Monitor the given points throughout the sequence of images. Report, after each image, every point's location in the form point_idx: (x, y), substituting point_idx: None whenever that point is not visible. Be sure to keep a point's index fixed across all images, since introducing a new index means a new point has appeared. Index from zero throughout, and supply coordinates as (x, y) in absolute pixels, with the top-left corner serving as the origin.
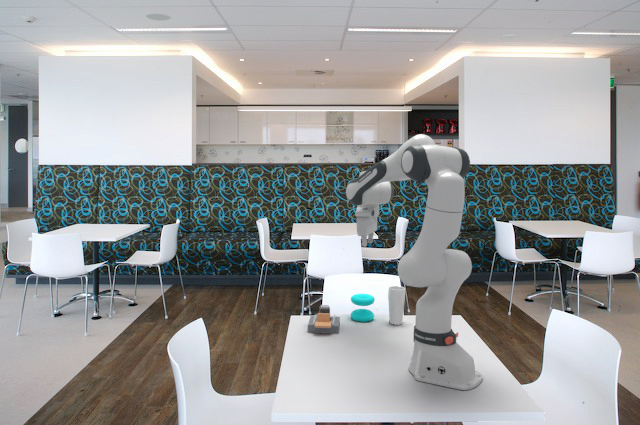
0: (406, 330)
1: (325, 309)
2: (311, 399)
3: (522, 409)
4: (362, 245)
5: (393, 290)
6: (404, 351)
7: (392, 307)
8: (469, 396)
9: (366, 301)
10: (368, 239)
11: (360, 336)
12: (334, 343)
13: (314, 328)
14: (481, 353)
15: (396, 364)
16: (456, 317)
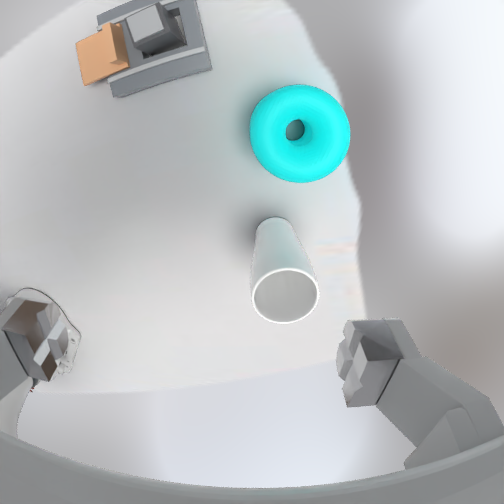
0: (221, 267)
1: (129, 34)
2: None
3: None
4: (17, 303)
5: (252, 287)
6: (85, 275)
7: (255, 250)
8: None
9: (257, 157)
10: (360, 362)
11: (124, 161)
12: (57, 118)
13: None
14: (151, 383)
15: (30, 268)
16: None
